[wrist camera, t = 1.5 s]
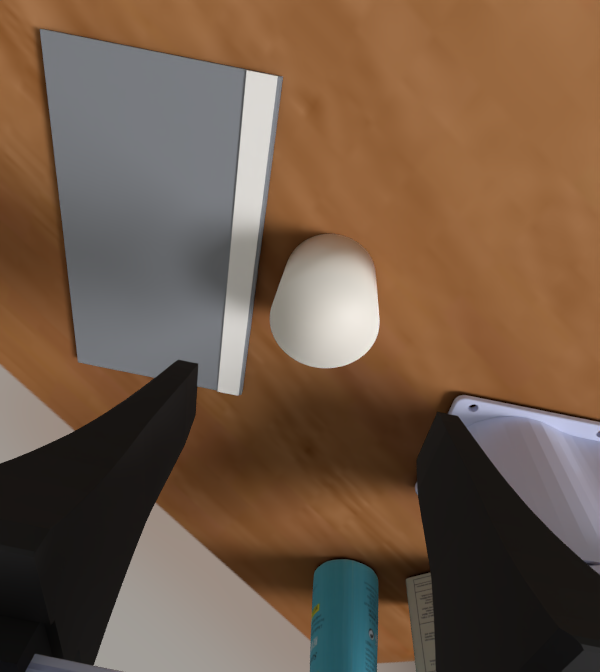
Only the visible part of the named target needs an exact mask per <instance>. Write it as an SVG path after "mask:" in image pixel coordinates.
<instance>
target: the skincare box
mask: <svg viewBox="0 0 600 672" xmlns="http://www.w3.org/2000/svg"><path fill="white" fill-rule="evenodd" d="M406 587H407V596H408V605H409V613H410V621H411V631H412V639H413V648H414V656H415V665H416V672H435V671H436V662H435V633H434V612H433V596H432V581H431V573H426V574H422V575H418V576H414V577H410V578H407V579H406Z"/></svg>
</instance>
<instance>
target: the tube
mask: <svg viewBox="0 0 600 672" xmlns="http://www.w3.org/2000/svg"><path fill="white" fill-rule="evenodd" d="M377 644H378V577H377V575H376V574H375V572H374V571H373V570H372V569H371V568H370V567H368V566H366V565H364V564H362V563H359V562H356V561H354V560H349V559H337V560H331V561H327V562H325V563H323V564H322V565H320V566H319V567H318V568H317V569H316V570H315V573H314V581H313V600H312V621H311V647H310V672H377Z"/></svg>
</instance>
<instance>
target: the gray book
mask: <svg viewBox="0 0 600 672" xmlns="http://www.w3.org/2000/svg"><path fill="white" fill-rule="evenodd" d="M40 35H41V44H42V53H43V61H44V70H45V79H46V87H47V96H48V105H49V113H50V122H51V131H52V140H53V148H54V157H55V166H56V174H57V183H58V192H59V200H60V209H61V218H62V227H63V235H64V244H65V253H66V261H67V270H68V279H69V287H70V296H71V305H72V313H73V322H74V331H75V340H76V348H77V357H78V362H80V363H84V364H89V365H94V366H99V367H104V368H109V369H114V370H119V371H124V372H129V373H134V374H139V375H144V376H149V377H154V378H155V377H157V376H158V375H159V374H160V373H162V372H163V371H164V370H165V369H166V368H168V367H169V366H170V365H171V364H173V363H174V362H175V361H177V360H183V361H188V362H193V363H198V380H197V386H198V387H203V388H208V389H213V390H218V391H217V392H222V393H227V394H232V395H237V396H238V395H241V394H242V391H243V384H244V376H245V369H246V361H247V353H248V345H249V338H250V330H251V322H252V314H253V306H254V299H255V291H256V283H257V275H258V268H259V260H260V252H261V244H262V237H263V229H264V221H265V213H266V205H267V198H268V190H269V182H270V174H271V167H272V159H273V151H274V143H275V135H276V128H277V120H278V112H279V104H280V97H281V89H282V81H283V77H282V76H277V75H272V74H267V73H262V72H257V71H252V70H247V69H242V68H237V67H232V66H227V65H222V64H217V63H212V62H207V61H202V60H197V59H192V58H187V57H182V56H177V55H172V54H167V53H162V52H157V51H152V50H147V49H142V48H137V47H132V46H127V45H122V44H117V43H112V42H107V41H101V40H96V39H91V38H86V37H81V36H76V35H71V34H66V33H61V32H56V31H51V30H46V29H40Z"/></svg>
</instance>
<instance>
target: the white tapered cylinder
mask: <svg viewBox="0 0 600 672" xmlns="http://www.w3.org/2000/svg"><path fill="white" fill-rule="evenodd" d="M379 322H380V321H379V309H378V296H377V284H376V272H375V266H374V263H373V260H372V258H371V257H370V255H369V253H368V252H367V251H366V249H365V248H364V247H363V246H362V245H360V244H359V243H358V242H356V241H355V240H353V239H351V238H349V237H346V236H343V235H339V234H321V235H317V236H314V237H311V238H309V239H307V240H305V241H303V242H302V243H301V244H299V245H298V246H297V247H296V248H295V249H294V251H293V252H292V253H291V255H290V257H289V259H288V261H287V264H286V267H285V270H284V273H283V275H282V278H281V281H280V284H279V287H278V290H277V292H276V295H275V298H274V301H273V304H272V307H271V311H270V326H271V331H272V333H273V336H274V338H275V340H276V342H277V343H278V345H279V346H280V347H281V349H282V350H283V351H284V352H285V353H286V354H288V355H289V356H290V357H292V358H293V359H295V360H296V361H298V362H300V363H303V364H305V365H308V366H312V367H318V368H336V367H341V366H344V365H348V364H350V363H352V362H354V361H356V360H358V359H359V358H361V357H362V356H363V355H364V354H365V353H366V352H367V351H368V350H369V349H370V348H371V347H372V345H373V343H374V342H375V340H376V337H377V335H378V331H379Z"/></svg>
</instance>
